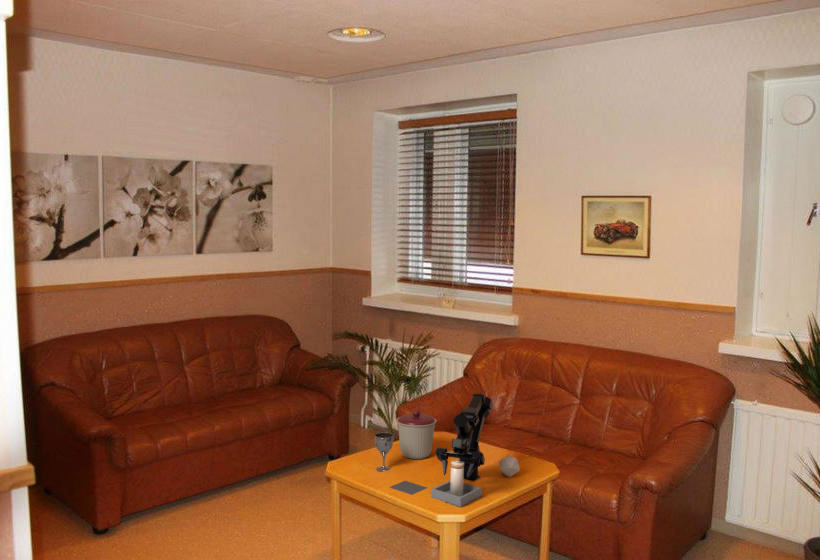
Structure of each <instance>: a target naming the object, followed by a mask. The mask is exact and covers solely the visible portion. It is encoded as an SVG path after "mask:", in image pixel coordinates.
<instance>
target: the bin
mask: <svg viewBox="0 0 820 560" xmlns="http://www.w3.org/2000/svg"><path fill="white" fill-rule="evenodd" d="M450 481H451V479H450V480H447V482H446V481H445V482H443V483H442V484H440V485H437V486H435V487H433V488H431V489H430V498H432V499H435V500H438V501H441V502H444V503H446V504H449V505H451V506H455V507H458V508H463V507H465V506H466V505H469V504H470V503H472V502H474V501H476V500H477V499H480V498H481V497H482V495H483V494H482V493H483V492H482V491H483V488H482V487H481V486H476V485H472V484H469V483H466V482H463V496H461V497H459V496H456V495H452V494H450Z"/></svg>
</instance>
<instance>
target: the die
mask: <svg viewBox="0 0 820 560" xmlns="http://www.w3.org/2000/svg"><path fill="white" fill-rule="evenodd" d="M519 463H520V462H519V461H518V459H517V458H516V457H514V456H512V455H510V454H508V455H506V456H505V457H504V458H501V460H500V461H498V464H499V470H500V472H501V474H503V475H505V476H506V477H509V476H511V477H513V476H514V475H515V474H517V473H518V472H520V471H521V470H520V469H521V468H520V465H519Z"/></svg>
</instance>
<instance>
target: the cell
mask: <svg viewBox="0 0 820 560" xmlns="http://www.w3.org/2000/svg"><path fill="white" fill-rule="evenodd" d="M450 480H451V481H450ZM450 480H449V481H450V494H452V495H456V496H459V497H461V496H463V483H464V480H465V479H464V462H463V461H460V460H458V459H457V460H455V459H454V460H452V461H450Z"/></svg>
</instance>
